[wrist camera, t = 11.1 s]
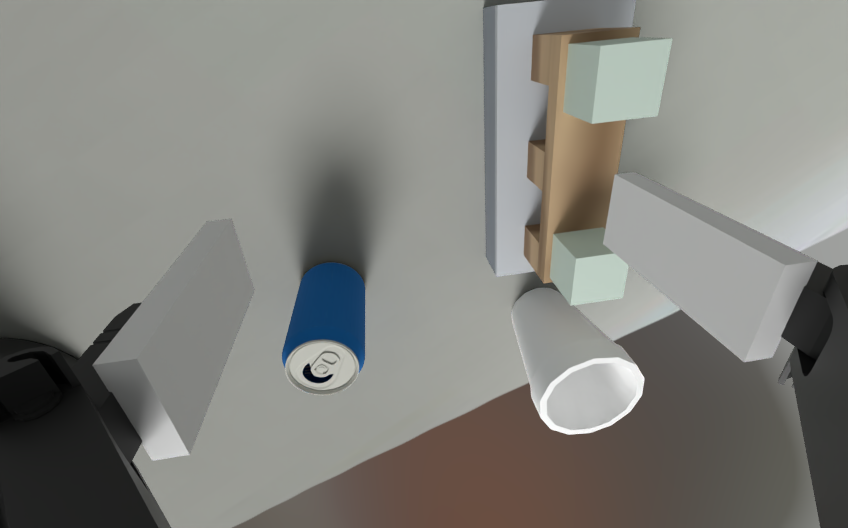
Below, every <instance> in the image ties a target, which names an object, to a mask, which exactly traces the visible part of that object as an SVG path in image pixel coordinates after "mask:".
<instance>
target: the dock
mask: <svg viewBox="0 0 848 528" xmlns="http://www.w3.org/2000/svg"><path fill="white" fill-rule="evenodd" d="M635 4H636V0H544V1H534V2H524V3H514V4H504V5H495V6H490V7H485V8H483V38H484V125H485V212H486V258H487V260H488V262H489V263H490V265H491V267H492V269H493V271H494V273H495V275H496V277H499V276H506V275H513V274H520V273H527V272H534V269H533V268H532V266H531V265H530V263H529V262H528V261H527V259H526V258H525V256H524V233H525V226H527V225H535V224H540V219H541V203H542V191H541V190H540V189H539V188H538V187H537V186H536V185H535V184H534V183H533V182H531V181H530V180H529V179H528V178H527V161H528V141H534V140H543V139H546V123H547V107H548V91H549V86H548V85H544V84H541V83H538V82H534V81H531V65H532V41H533V35H535V34H545V33H555V32H564V31H574V30H584V29H594V28H621V27H632V24H633V18H634V11H635Z"/></svg>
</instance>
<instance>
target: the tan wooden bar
mask: <svg viewBox="0 0 848 528" xmlns="http://www.w3.org/2000/svg"><path fill="white" fill-rule="evenodd" d="M639 33H640V27H621V28H594V29H584V30H574V31H564V32H555V33H545V34H535V35H533V41H532V65H531V81H534V82H538V83H541V84H544V85H548V86H549V91H548V107H547V123H546V139H543V140H534V141H528V161H527V178H528V179H529V180H530V181H531V182H533V183H534V184H535V185H536V186H537V187H538V188H539V189H540V190H541V191H542V203H541V219H540V224H535V225H527V226H525V233H524V256H525V258H526V259H527V261H528V262H529V263H530V265H531V266H532V268H533V269H534V271H535V272H536V273H537V275H538V276H539V278H540V279H541V280H542V282H543V283H550V282H553V281H552V280H551V279H550V267H551V255H552V243H553V234H556V233H564V232H571V231H579V230H586V229H594V228H601V227H603V228H604V229H606V223H607V217H608V211H609V205H610V199H611V193H612V187H613V181H614V176H615V174H618V167H619V161H620V155H621V148H622V142H623V135H624V129H625V123H626V120H620V121H612V122H604V123H595V124H591V123H588V122H586V121H583V120H581V119H579V118H576V117H574V116H571V115H569V114H566V113H564V112H563V106H564V94H565V82H566V69H567V57H568V44H572V43H582V42H591V41H601V40H610V39H620V38H629V37H639Z"/></svg>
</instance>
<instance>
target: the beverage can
mask: <svg viewBox="0 0 848 528" xmlns="http://www.w3.org/2000/svg"><path fill="white" fill-rule="evenodd" d="M282 360H283V364H284V367H285V372H286V376H287V378H288V380H289V381H290V382H291V383H292V384H293V385H294V386H295V387H296V388H298V389H299V390H301V391H303V392H306V393H309V394H313V395H331V394H335V393H338V392H341V391H343V390H345V389H346V388H348V387H349V386H351V385H352V384H353V382H354V381H355V380H356V378H357V376H358V373H359V372H360V371H361V369H362V367H363V364H364V360H365V285H364V282H363V280H362V278H361V276H360V275H359V274H358V273H357V272H356V271H355V270H354V269H352V268H351V267H349V266H347V265H344V264H341V263H335V262H329V263H322V264H319V265H316V266H314V267H313V268H311V269H310V270H309V271H307V272H306V274H305V275H304V276H303V278H302V280H301V283H300V287H299V291H298V294H297V298H296V302H295V306H294V310H293V313H292V317H291V321H290V325H289V329H288V333H287V336H286V340H285V344H284V348H283V352H282Z"/></svg>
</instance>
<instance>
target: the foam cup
mask: <svg viewBox="0 0 848 528" xmlns="http://www.w3.org/2000/svg"><path fill="white" fill-rule="evenodd" d="M511 314H512V322H513V327H514V330H515V334H516V337H517V341H518V344H519V348H520V351H521V355H522V358H523V362H524V365H525V369H526V372H527V376H528V379H529V383H530V386H531V397H532V400H533V402H534V404H535V406H536V409H537V411H538V413H539V415H540V418H541V419H542V420H543V421H544V422H545V423H546V424H547V425H548V427H549V428H550V429H552V430H555V431H559V432H562V433H565V434H568V435H569V434H582V433H591V432H593V431H597V430H599V429H601V428H605V427H607V426H610V425H612V424H614V423H615V422H616V421H618V420H619V419H621V418H622V417H623V416H625V415H626V414H627V413H629V412H630V411H631V410H632V408H633V407H634V406H635V404H636V403H637V401H638V400H639V399H640V397H641V396H642V392H643V385H644V377H643V375H642V374H641V372H640V370H639V369H638V367H637V365H636V364H635V363H634V362H633V360H632V359H631V358H630V356H629V355H628V354H627V353H626V351H625V350H624V349H623V348H622V347H621V346H620V345H617V344H615V343H614V342H613V341H612V340H611V339H610V338H609V337H607V336H606V335H605V334H604V333H603V332H602V331H601V330H600V329H599V328H598V327H597V326H596V325H594V324H593V323H592V322H591V321H590V320H589V319H588V318H587V317H586V316H585V315H584V314H583V313H581V312H580V311H579V310H578V309H577V308H576V307H575V306H574V305H572V306H570V304H569V303H568V302H567V300H566V299H565V298H564V296H563V295H562V294H560V293H559V292H558V291H556V290H554V289H551V288H536V289H533V290H531V291H528V292H526V293H524V294H523V295H522V296H521V297H520V298H519V299H518V300H517V301H516V302H515V304H514V306H513V309H512V311H511Z"/></svg>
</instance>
